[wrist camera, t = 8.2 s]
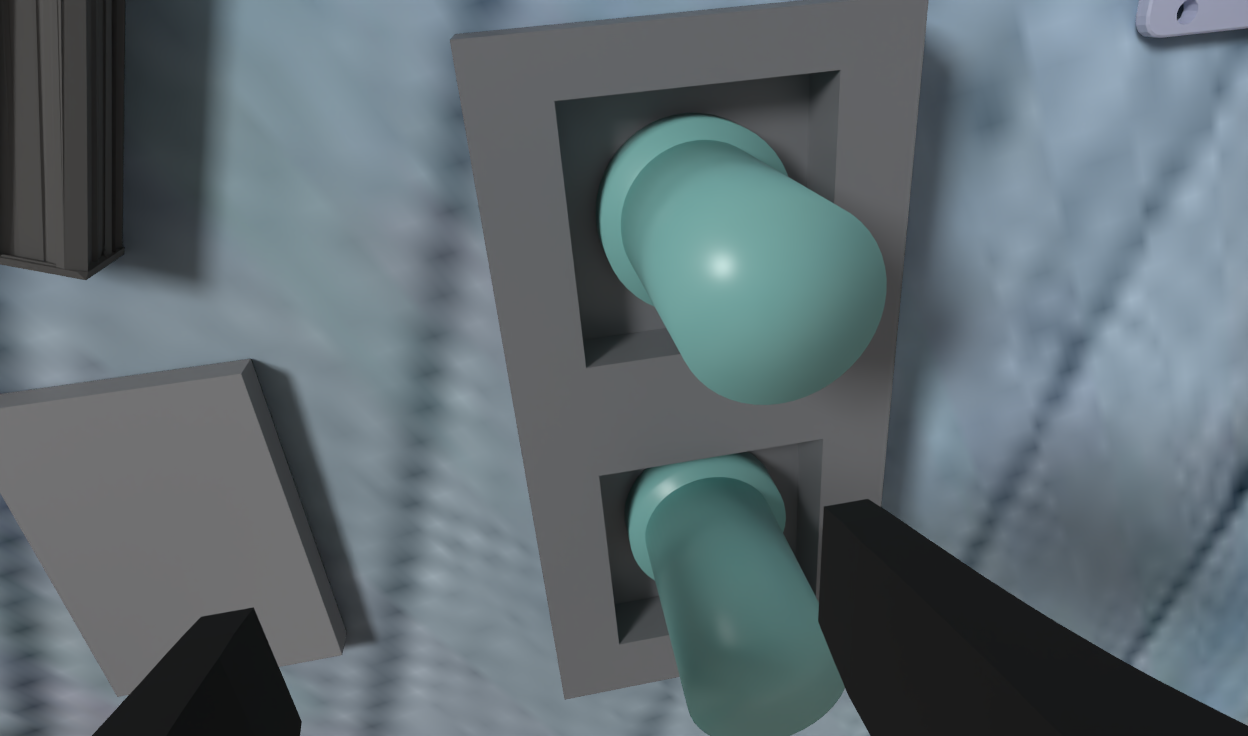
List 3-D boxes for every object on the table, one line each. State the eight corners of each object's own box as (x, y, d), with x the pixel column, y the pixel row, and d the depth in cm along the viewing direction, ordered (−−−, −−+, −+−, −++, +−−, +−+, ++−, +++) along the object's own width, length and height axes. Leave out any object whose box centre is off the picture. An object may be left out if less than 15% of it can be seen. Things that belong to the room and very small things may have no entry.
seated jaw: (778, 102, 16) (924, 152, 11) (776, 285, 18) (899, 405, 13) (585, 123, 16) (637, 188, 10) (604, 309, 17) (657, 444, 12)
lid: (250, 358, 18) (240, 373, 17) (346, 633, 22) (342, 654, 21) (-23, 397, 17) (-45, 414, 16) (129, 673, 21) (117, 696, 20)
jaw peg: (794, 524, 21) (891, 701, 16) (664, 588, 22) (716, 781, 16) (739, 416, 19) (829, 578, 14) (597, 488, 20) (632, 672, 14)
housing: (868, -6, 16) (929, -8, 14) (833, 580, 24) (868, 638, 22) (455, 33, 15) (450, 39, 13) (556, 632, 23) (564, 699, 21)
